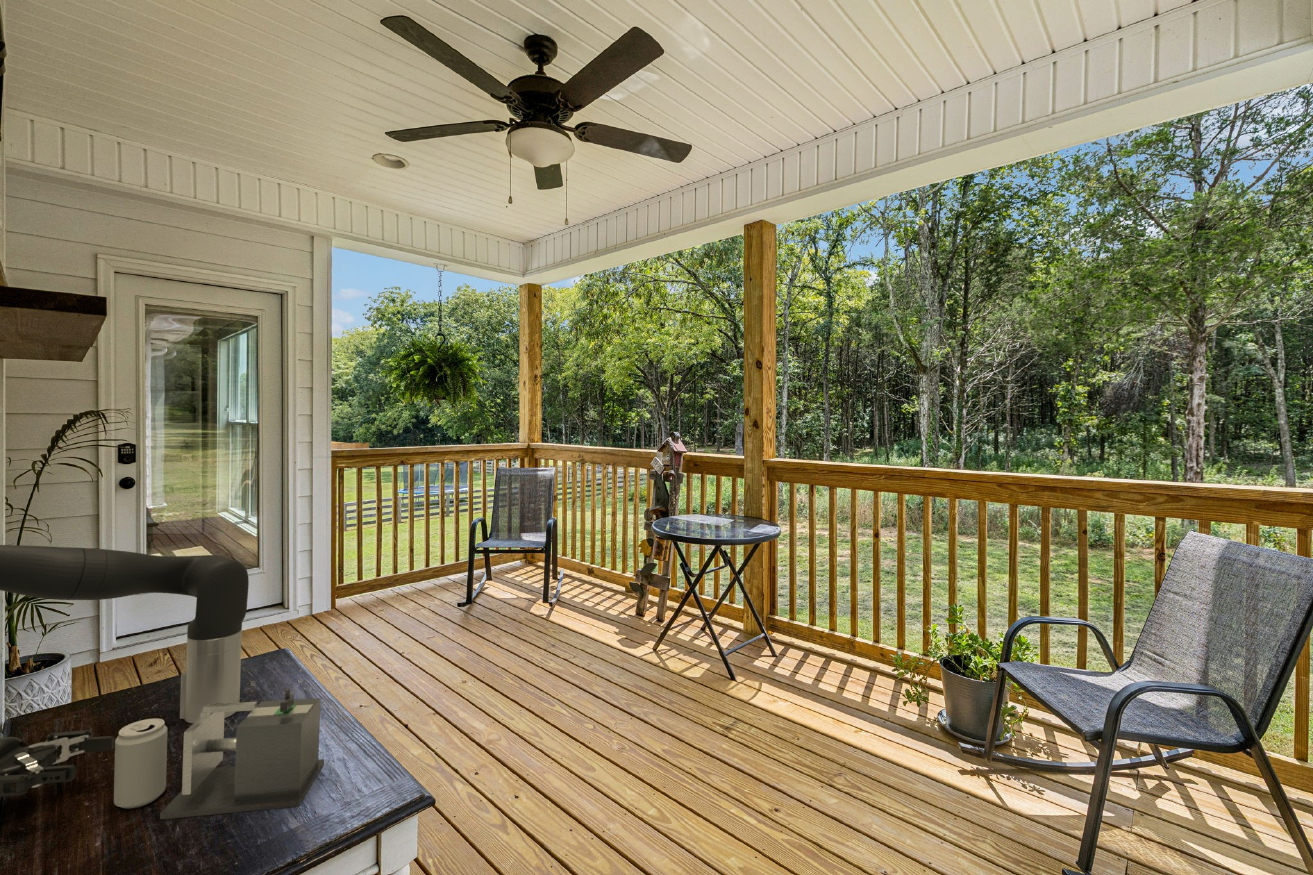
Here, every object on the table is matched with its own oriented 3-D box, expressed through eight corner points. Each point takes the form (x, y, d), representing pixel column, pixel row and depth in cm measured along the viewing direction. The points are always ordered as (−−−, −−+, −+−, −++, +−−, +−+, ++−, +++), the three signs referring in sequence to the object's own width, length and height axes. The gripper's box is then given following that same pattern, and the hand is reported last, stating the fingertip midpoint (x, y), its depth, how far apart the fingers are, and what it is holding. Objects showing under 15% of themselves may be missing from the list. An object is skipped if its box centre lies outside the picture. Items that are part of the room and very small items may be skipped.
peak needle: (280, 711, 98) (280, 693, 97) (287, 703, 100) (287, 685, 100) (286, 711, 98) (287, 692, 98) (293, 703, 101) (294, 684, 101)
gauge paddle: (181, 794, 91) (184, 720, 91) (215, 759, 101) (217, 692, 101) (246, 789, 93) (248, 716, 93) (272, 755, 103) (274, 689, 103)
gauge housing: (160, 819, 90) (162, 734, 90) (202, 774, 102) (204, 699, 102) (298, 806, 94) (301, 725, 94) (324, 764, 106) (326, 692, 106)
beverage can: (134, 814, 91) (136, 739, 91) (102, 807, 92) (104, 733, 92) (175, 790, 97) (177, 719, 97) (145, 784, 98) (147, 714, 98)
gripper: (-76, 768, 82) (61, 758, 86) (10, 719, 96) (125, 712, 100) (-78, 821, 82) (59, 808, 86) (9, 764, 96) (123, 755, 100)
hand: (94, 757), depth 93 cm, fingers open, 8 cm apart
